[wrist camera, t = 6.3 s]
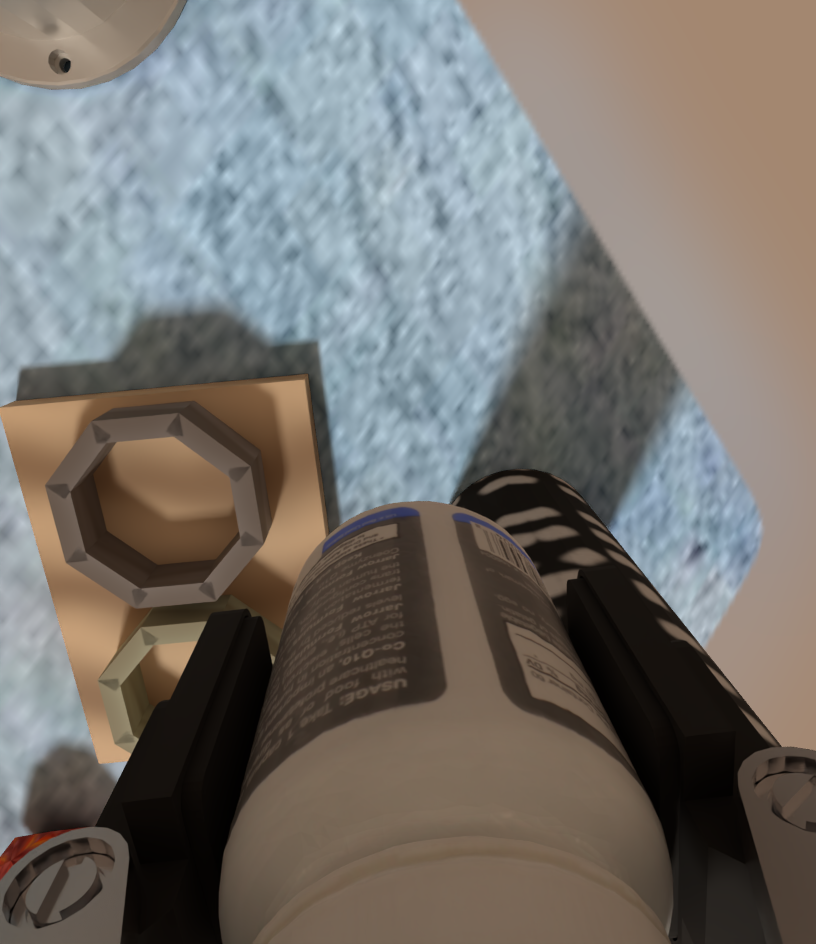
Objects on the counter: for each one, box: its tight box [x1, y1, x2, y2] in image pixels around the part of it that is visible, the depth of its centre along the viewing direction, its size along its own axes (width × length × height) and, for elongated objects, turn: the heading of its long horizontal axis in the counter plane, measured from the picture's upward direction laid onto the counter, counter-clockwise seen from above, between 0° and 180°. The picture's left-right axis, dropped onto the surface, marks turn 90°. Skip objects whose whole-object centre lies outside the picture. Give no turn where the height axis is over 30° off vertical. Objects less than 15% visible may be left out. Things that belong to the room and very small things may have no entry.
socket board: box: [0, 374, 329, 764], centre depth 34 cm, size 20×14×4 cm
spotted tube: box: [452, 469, 782, 748], centre depth 26 cm, size 8×8×20 cm
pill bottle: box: [219, 501, 673, 944], centre depth 9 cm, size 5×5×8 cm
